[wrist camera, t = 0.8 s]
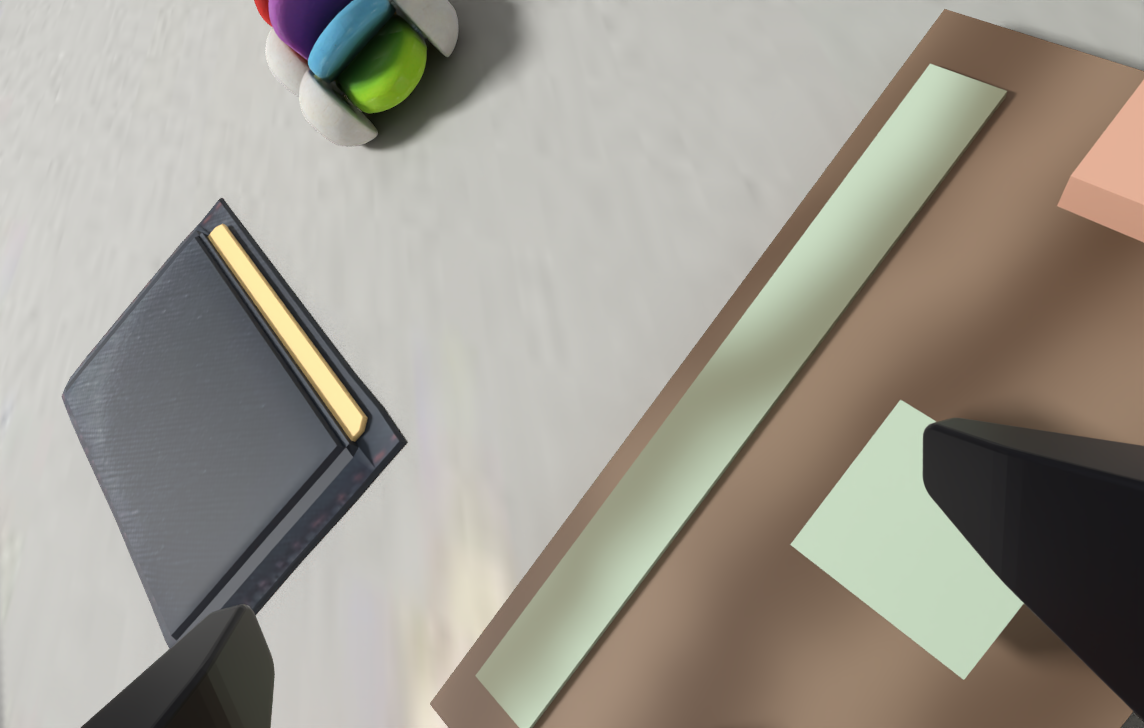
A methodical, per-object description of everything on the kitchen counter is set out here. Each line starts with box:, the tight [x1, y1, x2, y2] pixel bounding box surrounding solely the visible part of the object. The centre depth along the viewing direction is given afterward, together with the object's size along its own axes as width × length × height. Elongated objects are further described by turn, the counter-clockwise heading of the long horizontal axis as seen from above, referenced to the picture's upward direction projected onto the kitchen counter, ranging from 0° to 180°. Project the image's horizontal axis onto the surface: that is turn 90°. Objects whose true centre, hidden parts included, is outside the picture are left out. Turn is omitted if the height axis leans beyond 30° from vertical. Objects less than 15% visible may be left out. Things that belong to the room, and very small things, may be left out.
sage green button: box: [790, 400, 1024, 680], centre depth 17 cm, size 4×4×2 cm
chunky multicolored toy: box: [254, 0, 459, 147], centre depth 32 cm, size 8×10×7 cm
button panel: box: [430, 9, 1144, 728], centre depth 20 cm, size 14×28×2 cm, turn 140°
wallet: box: [62, 198, 407, 648], centre depth 34 cm, size 20×2×15 cm
